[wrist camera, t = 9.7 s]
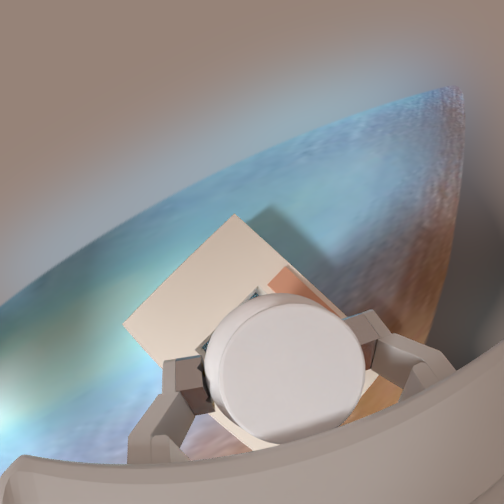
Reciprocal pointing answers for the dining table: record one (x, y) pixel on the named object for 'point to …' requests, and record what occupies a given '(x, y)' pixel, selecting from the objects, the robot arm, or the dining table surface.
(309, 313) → the supplement bottle
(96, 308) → the dining table surface
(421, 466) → the robot arm
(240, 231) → the socket block
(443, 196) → the dining table surface
